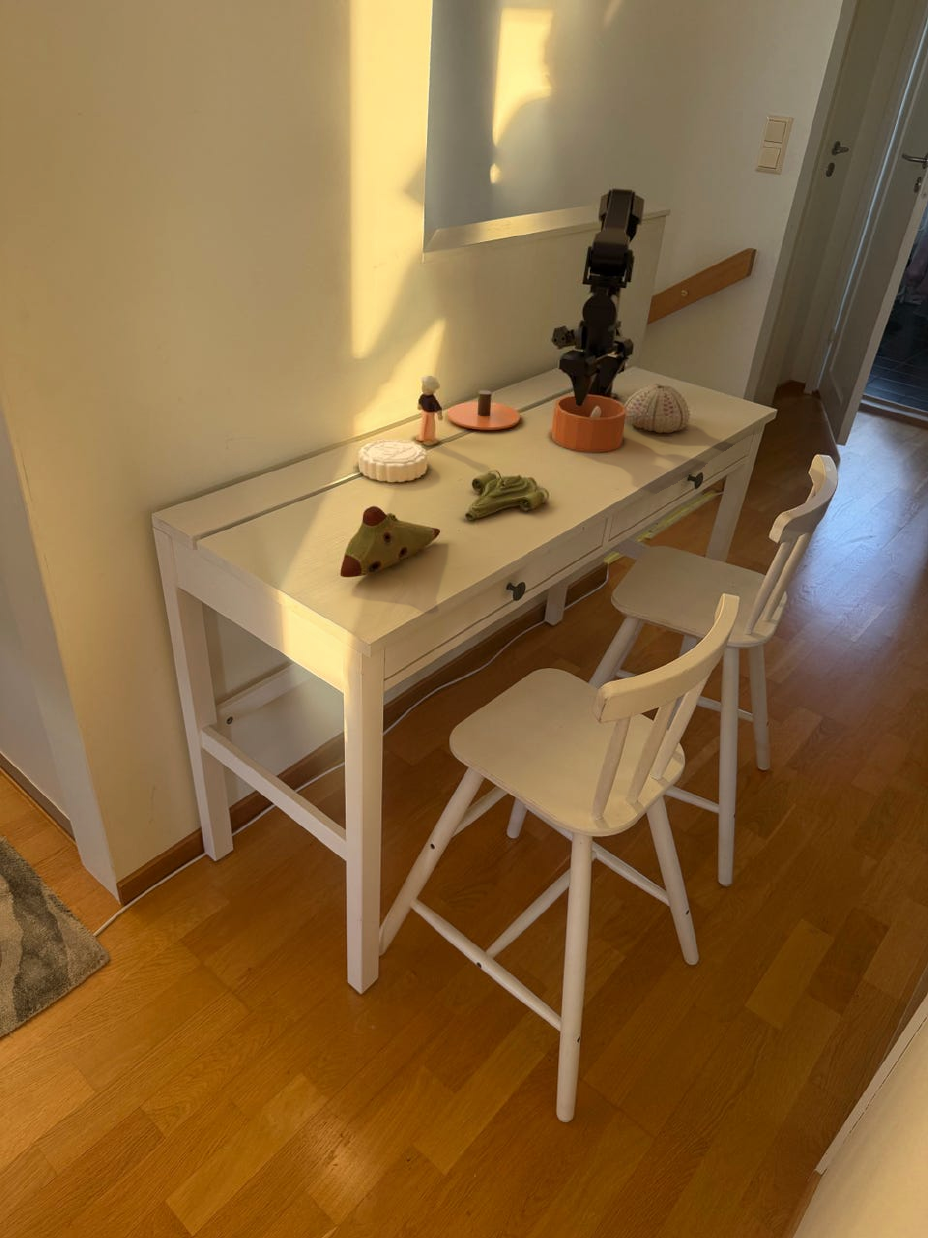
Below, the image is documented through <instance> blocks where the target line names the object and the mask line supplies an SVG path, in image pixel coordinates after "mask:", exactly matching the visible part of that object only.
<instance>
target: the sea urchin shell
mask: <svg viewBox="0 0 928 1238" xmlns="http://www.w3.org/2000/svg"><path fill="white" fill-rule="evenodd" d="M623 405H624V406H625V407H626V408H627V411H626V418H625V419H626V421H627V422H630V424H631V425H634V426H635V427H636V428H638V429H644V430H645V431H648V432H652V431H654V432H656V433H661V434H662V433H664V434H667V433H668V434H669V433H670V434H671V433H672V432H678V431H681V430H682V429H683V428H685V426H687V424H688V423H689V420H690V418H691V417H690V416H691V413H690V412H691V411H690V410H689V406H688V405H687V401H686V400H685V398H684V396H683V395H682V394H681V393H680V392H679V391H678V390H677V389H676V388H674V387H673V386H671V385H667V384H666V385H665V384H660V383H653V384H651V385H646V386H645V387H642V388H640V389H637V391H636V392H632V395H631V396H629V398H628V399H627V400H626V402H625V403H623Z"/></svg>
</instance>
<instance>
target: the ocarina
mask: <svg viewBox="0 0 928 1238" xmlns="http://www.w3.org/2000/svg"><path fill="white" fill-rule="evenodd" d="M440 533H441V529H439V528H437V527H436V528H435V527H430V526H426V525H422V524H416V523H412V522H408V521H404V520H400V519H398V518H397V517H396V514H394V513H392V512H389V513H388V514H387V513H385V512H384V511H383V510H382V508H380V507H379V506H375V505H371V506H369V507H367V508H365V509H364V511H363V512H362V521H361V524H360V526H359V528H358V530H357V532H355V534H354V535H353V536H352V537H351V539H350V540H349V542H348V544H347V546H346V548H345V552H344V556H343V560H342V563H341V568H340V572H339V573H340V574H339V575H340V577H343V578H355V577H356V578H357V577H363V576H367V575H371V574H375V573H377V572H379V571H382V570H384V569H386V568H388V567H390V566H393V565H395V564H397V563H399V562H401V561H402V560H404V559H406V558H408V557H411V556H412V555H414V554H415V553H417V552H419V551H420V550H422V549H424V548H426V547H427V546H429V545H431V543H433V542H434V541H435V539H436V538H437V537H438V536H439V535H440Z"/></svg>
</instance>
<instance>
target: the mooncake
mask: <svg viewBox="0 0 928 1238" xmlns="http://www.w3.org/2000/svg"><path fill="white" fill-rule="evenodd" d="M358 467H359V471H360V472H361V474H362V475H363V476H365V477H368V478H369V479H371V480H377V481H378V482H388V483H396V482H398V483H403V482H405V481H409V482H410V481H413V480H415V479H419V478H421V476H422V475H425V474H426V471H427V470H428V453H427V449H425V448H423V446H421V445H420V444H417V443H415V442H413V441H407V440H405V439H380V440H373V441H372V442H369V443H367V444H365V446H364V445H363V446H362V447H361V448H360V450H359V451H358Z"/></svg>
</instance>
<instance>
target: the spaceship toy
mask: <svg viewBox="0 0 928 1238" xmlns="http://www.w3.org/2000/svg"><path fill="white" fill-rule="evenodd" d="M537 484H538V483H537V481H536V480H535V478H533V477H532V476H530V477H523V476H522V475H521V474H518V475H513V476H506V475H503V476H502V475H501V473H500V472H499V470H497V469H492V470H489V471H488V472H485V473H483V474H480V475H479V476H477V477H474V478H473V479H472V481H471V487H472V489H473V490H474V492H477V493H481V494H480V496H479V497H477V499H476V500H475V501H474V502H473V503H471V505H470V506H469V507H468V512H466V513H465V514H464V517H465V518H466V519H467V520H468V521H472V520H475V519H480V518H483V517H485V516H489V515H491V514H494V513H496V512H498V511H500V510H504V509H506V508H510V507H516V506H520V508H521V509H522V510H523V511H525V512H529V511H531V510H534V509H535V508H537V507H539V506H540V505H543V504H544V503H545V501H548V500H549V499H550V493H549V491H548V490H547V489H546V488H545V487H540V488H538V485H537Z"/></svg>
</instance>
